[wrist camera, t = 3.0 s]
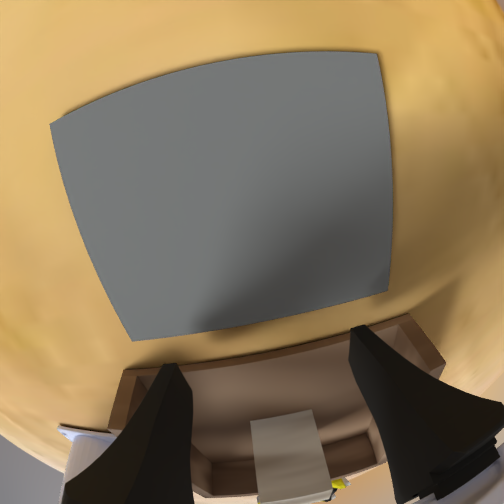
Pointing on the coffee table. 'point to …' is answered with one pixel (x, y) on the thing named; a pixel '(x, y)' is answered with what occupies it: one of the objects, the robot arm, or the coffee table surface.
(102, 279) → the mat
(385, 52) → the coffee table surface
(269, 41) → the coffee table surface
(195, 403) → the crate
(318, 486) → the block
